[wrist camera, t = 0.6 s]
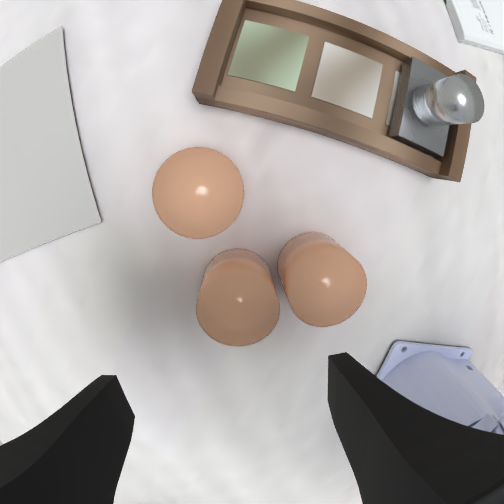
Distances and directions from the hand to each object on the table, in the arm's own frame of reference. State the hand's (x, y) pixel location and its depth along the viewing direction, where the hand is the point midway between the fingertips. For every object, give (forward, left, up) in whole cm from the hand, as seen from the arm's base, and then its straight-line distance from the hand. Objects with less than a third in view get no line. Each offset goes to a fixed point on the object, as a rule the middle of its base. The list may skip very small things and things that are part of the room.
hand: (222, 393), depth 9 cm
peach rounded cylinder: (0, 0, -10) cm, 10 cm away
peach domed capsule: (-4, -2, -10) cm, 11 cm away
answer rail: (-3, -13, -10) cm, 17 cm away
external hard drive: (-15, -27, -10) cm, 33 cm away
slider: (-8, -13, -8) cm, 18 cm away
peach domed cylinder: (+3, -5, -10) cm, 11 cm away
